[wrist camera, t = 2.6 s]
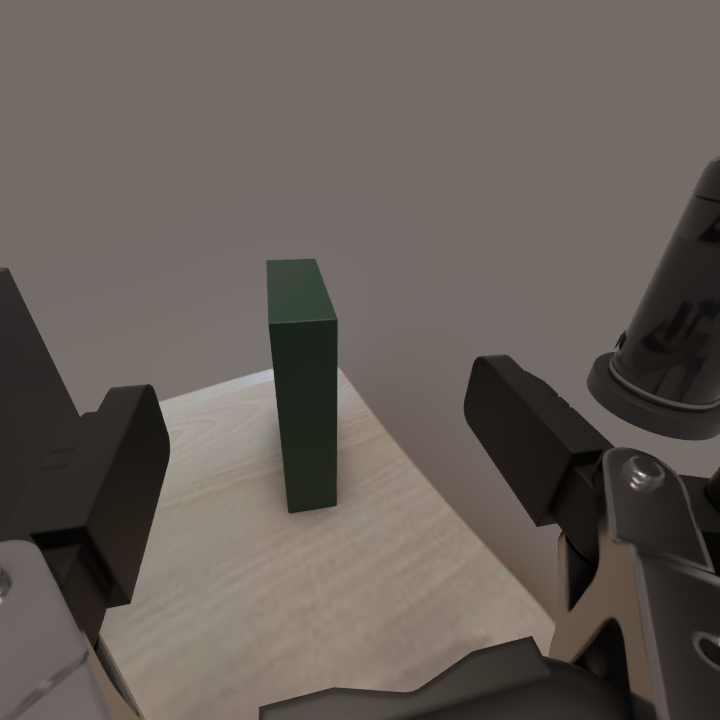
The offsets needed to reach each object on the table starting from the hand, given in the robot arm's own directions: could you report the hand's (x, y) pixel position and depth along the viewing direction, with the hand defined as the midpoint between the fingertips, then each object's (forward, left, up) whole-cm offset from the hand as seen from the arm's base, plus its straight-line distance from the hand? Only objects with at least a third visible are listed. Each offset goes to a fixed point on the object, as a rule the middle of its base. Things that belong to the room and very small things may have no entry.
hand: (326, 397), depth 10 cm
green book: (+3, -12, -16) cm, 20 cm away
